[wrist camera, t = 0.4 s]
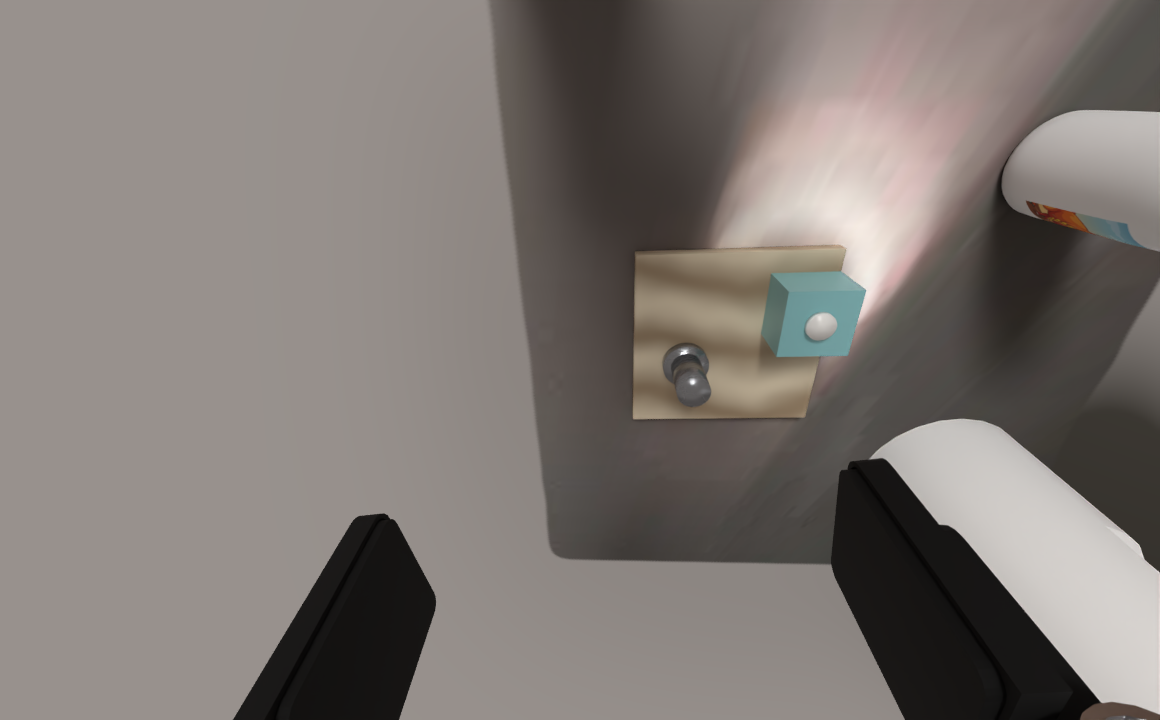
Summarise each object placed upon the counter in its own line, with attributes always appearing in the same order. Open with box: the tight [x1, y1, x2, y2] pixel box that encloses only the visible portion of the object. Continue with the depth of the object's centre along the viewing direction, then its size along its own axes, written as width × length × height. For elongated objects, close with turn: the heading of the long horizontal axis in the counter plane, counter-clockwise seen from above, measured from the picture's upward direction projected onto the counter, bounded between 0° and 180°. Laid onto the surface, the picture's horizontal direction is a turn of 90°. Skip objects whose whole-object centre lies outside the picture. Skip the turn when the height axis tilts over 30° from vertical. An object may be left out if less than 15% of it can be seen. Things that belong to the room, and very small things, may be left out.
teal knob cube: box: [761, 271, 866, 357], centre depth 40 cm, size 6×6×5 cm
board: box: [632, 245, 846, 419], centre depth 45 cm, size 18×18×1 cm
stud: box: [662, 343, 711, 407], centre depth 44 cm, size 4×4×6 cm
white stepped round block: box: [870, 419, 1160, 714], centre depth 42 cm, size 17×17×28 cm
